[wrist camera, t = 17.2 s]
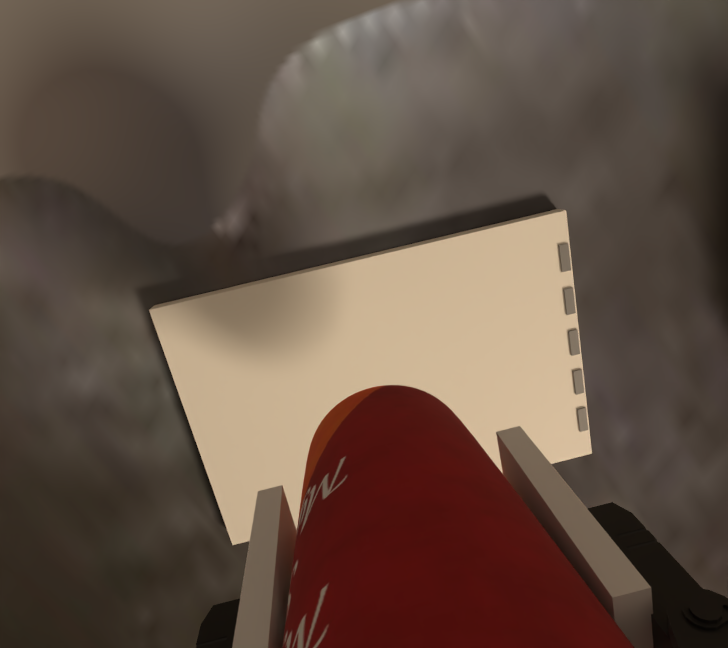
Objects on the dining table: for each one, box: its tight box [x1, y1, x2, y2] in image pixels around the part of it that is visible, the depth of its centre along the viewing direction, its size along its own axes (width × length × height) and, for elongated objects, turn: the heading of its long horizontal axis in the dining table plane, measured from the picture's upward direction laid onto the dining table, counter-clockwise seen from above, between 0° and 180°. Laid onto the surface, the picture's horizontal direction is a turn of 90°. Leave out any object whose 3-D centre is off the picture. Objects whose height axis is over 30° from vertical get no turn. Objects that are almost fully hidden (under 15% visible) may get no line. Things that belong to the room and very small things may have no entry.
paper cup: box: [282, 385, 634, 648], centre depth 12 cm, size 8×8×14 cm
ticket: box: [149, 209, 592, 545], centre depth 24 cm, size 18×12×1 cm, turn 102°
